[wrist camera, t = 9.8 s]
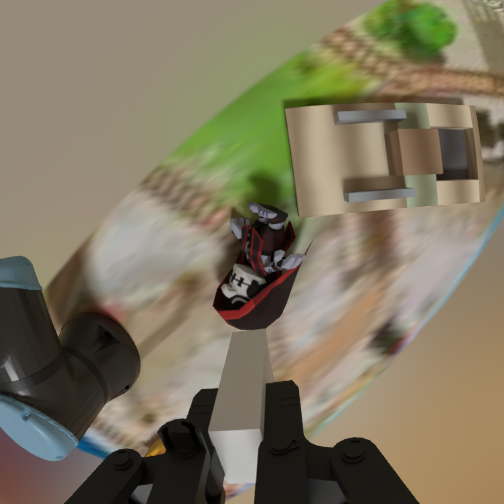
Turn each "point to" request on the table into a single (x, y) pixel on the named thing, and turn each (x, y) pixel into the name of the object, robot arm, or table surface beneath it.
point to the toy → (259, 271)
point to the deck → (379, 157)
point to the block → (413, 152)
